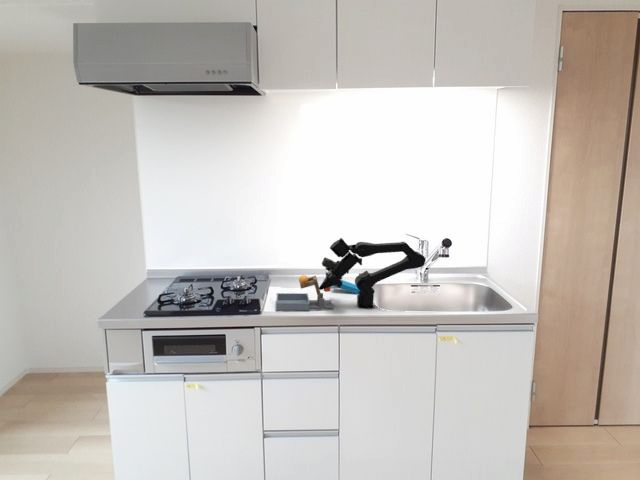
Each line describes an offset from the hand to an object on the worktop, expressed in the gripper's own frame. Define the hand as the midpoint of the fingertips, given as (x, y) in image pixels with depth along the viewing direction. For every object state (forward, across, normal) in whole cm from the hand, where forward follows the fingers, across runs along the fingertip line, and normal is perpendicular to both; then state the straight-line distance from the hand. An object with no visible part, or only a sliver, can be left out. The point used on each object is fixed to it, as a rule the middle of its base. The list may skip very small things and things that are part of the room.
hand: (319, 289), depth 203 cm
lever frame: (+5, 0, +6) cm, 8 cm away
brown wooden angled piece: (+6, 0, +3) cm, 7 cm away
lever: (-4, -22, +15) cm, 27 cm away
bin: (+14, 0, -3) cm, 14 cm away
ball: (+2, 0, -8) cm, 8 cm away
